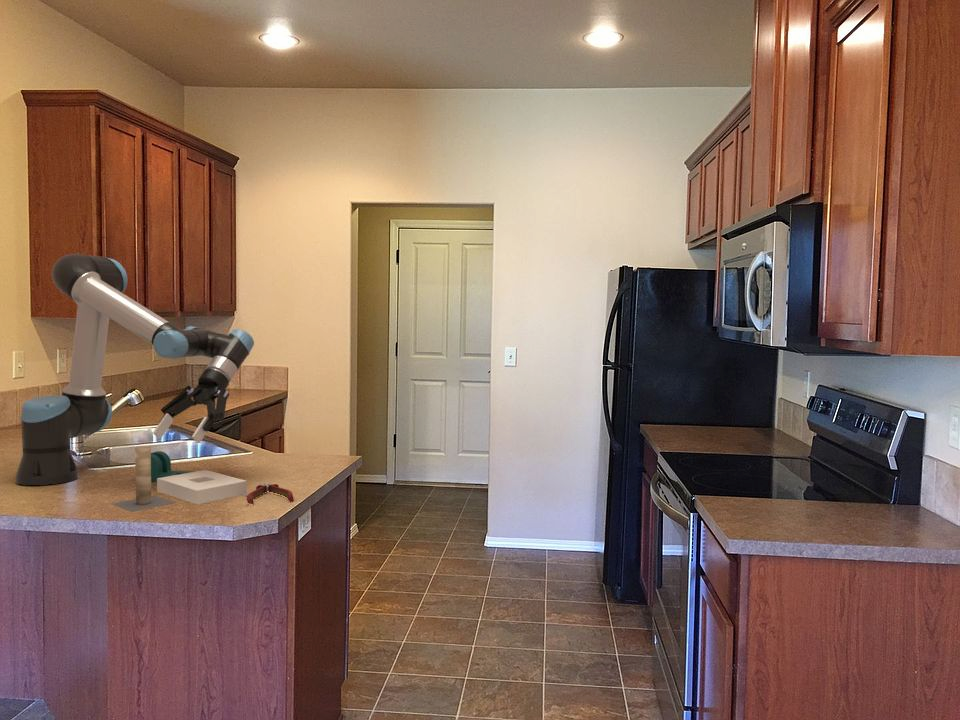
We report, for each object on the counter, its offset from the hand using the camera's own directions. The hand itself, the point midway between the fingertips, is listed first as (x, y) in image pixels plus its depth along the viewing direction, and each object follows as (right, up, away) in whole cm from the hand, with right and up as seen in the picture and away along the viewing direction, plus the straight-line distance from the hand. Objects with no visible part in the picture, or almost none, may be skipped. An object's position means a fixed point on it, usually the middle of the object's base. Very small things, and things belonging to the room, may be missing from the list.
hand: (175, 438), depth 185 cm
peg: (-5, -15, -8) cm, 18 cm away
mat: (-5, -16, -8) cm, 18 cm away
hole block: (+6, -15, +3) cm, 17 cm away
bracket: (-9, -15, +18) cm, 25 cm away
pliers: (+25, -16, +4) cm, 30 cm away
